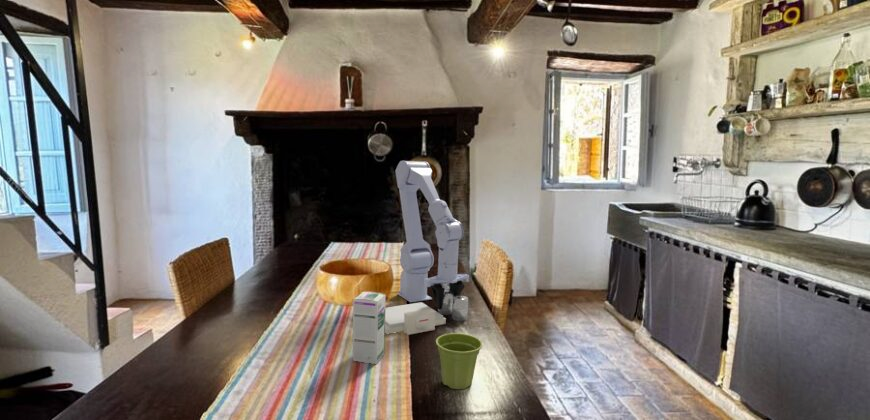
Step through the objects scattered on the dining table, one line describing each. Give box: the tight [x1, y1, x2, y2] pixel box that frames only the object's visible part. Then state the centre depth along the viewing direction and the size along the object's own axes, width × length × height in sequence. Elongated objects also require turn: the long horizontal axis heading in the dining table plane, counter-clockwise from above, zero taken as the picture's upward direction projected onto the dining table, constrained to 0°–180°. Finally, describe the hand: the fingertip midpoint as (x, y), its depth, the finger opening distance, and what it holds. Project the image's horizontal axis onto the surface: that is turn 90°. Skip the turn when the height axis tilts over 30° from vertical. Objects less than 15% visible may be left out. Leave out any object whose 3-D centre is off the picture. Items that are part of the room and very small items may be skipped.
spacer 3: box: [451, 295, 469, 322], centre depth 127 cm, size 4×4×6 cm
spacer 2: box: [437, 290, 454, 316], centre depth 132 cm, size 4×4×6 cm
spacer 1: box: [442, 283, 450, 290], centre depth 140 cm, size 4×4×6 cm
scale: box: [385, 301, 447, 336], centre depth 122 cm, size 15×18×5 cm
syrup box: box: [352, 291, 387, 365], centre depth 100 cm, size 6×6×14 cm
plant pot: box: [435, 332, 483, 390], centre depth 91 cm, size 9×9×9 cm
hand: (445, 307), depth 132 cm, fingers closed on spacer 2, 4 cm apart
